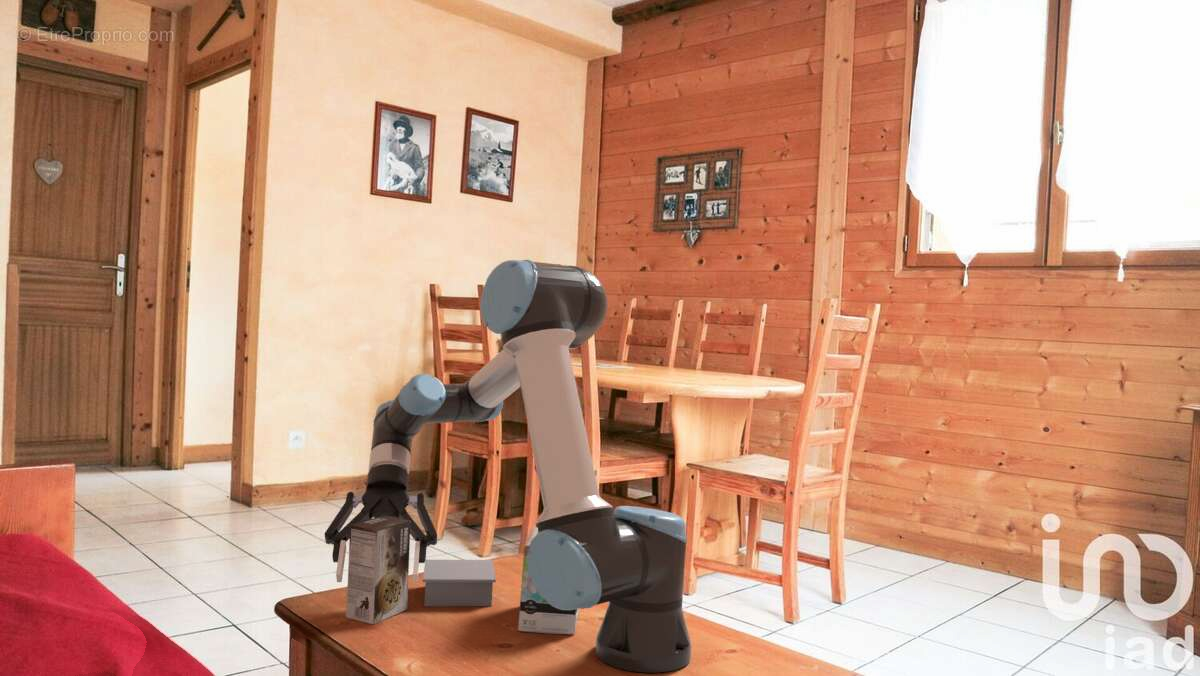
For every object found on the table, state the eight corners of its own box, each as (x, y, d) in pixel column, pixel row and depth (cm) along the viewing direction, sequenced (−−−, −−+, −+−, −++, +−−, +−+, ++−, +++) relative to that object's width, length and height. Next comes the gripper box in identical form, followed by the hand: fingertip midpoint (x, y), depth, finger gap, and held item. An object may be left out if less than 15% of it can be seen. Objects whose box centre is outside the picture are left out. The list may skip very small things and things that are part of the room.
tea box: (576, 636, 144) (581, 548, 144) (517, 632, 144) (521, 544, 144) (580, 607, 159) (584, 527, 159) (525, 604, 159) (530, 524, 159)
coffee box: (379, 603, 155) (383, 514, 155) (408, 610, 153) (412, 519, 152) (343, 617, 147) (348, 523, 147) (373, 625, 144) (378, 529, 144)
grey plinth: (494, 606, 157) (495, 579, 157) (421, 607, 155) (422, 579, 154) (491, 585, 170) (492, 560, 169) (424, 585, 167) (425, 559, 167)
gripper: (453, 486, 167) (448, 589, 152) (323, 483, 163) (305, 589, 148) (454, 463, 162) (449, 567, 147) (320, 460, 158) (301, 566, 143)
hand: (377, 578), depth 147 cm, fingers open, 12 cm apart
